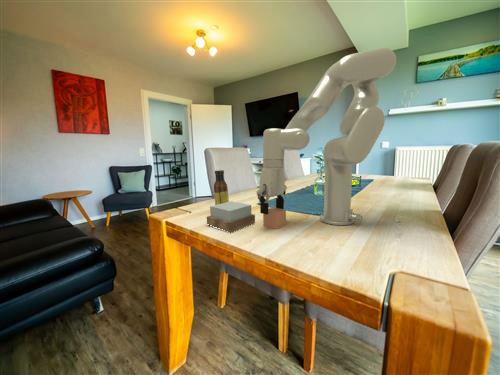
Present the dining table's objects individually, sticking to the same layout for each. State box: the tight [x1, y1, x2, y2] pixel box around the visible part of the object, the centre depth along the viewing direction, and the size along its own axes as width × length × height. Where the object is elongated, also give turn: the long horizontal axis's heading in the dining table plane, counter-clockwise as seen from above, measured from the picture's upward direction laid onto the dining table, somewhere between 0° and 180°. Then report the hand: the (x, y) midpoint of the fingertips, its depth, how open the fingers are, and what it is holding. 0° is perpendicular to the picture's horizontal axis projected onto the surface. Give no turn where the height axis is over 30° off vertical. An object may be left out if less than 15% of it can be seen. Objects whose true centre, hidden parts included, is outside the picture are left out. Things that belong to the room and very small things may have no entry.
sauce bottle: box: [213, 169, 230, 205], centre depth 97 cm, size 7×6×20 cm
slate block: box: [209, 200, 253, 222], centre depth 82 cm, size 11×11×4 cm
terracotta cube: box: [262, 207, 287, 230], centre depth 81 cm, size 6×6×6 cm
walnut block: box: [206, 213, 256, 234], centre depth 83 cm, size 13×13×4 cm
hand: (272, 211), depth 80 cm, fingers open, 9 cm apart
